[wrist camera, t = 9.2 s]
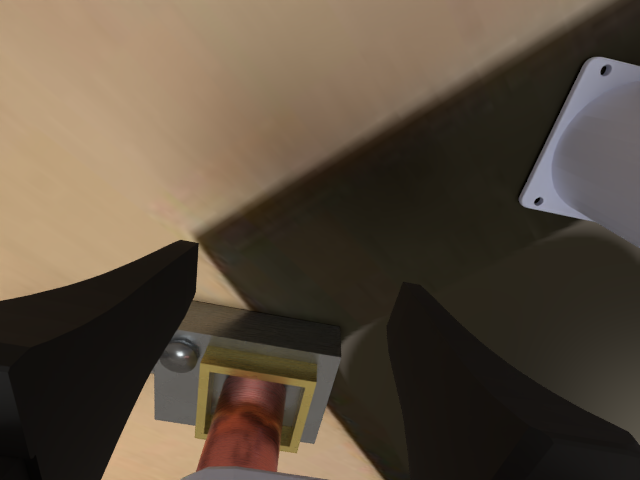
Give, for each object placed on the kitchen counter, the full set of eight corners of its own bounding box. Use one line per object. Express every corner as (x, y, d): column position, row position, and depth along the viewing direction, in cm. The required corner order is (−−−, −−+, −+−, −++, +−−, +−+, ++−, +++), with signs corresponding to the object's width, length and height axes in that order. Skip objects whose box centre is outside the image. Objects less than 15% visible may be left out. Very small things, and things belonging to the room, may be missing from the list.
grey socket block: (339, 326, 26) (341, 375, 22) (315, 409, 30) (313, 463, 26) (149, 293, 25) (115, 337, 21) (150, 383, 29) (121, 435, 25)
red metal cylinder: (291, 375, 24) (275, 514, 17) (280, 417, 26) (262, 555, 19) (225, 364, 23) (181, 501, 16) (219, 407, 25) (178, 545, 18)
